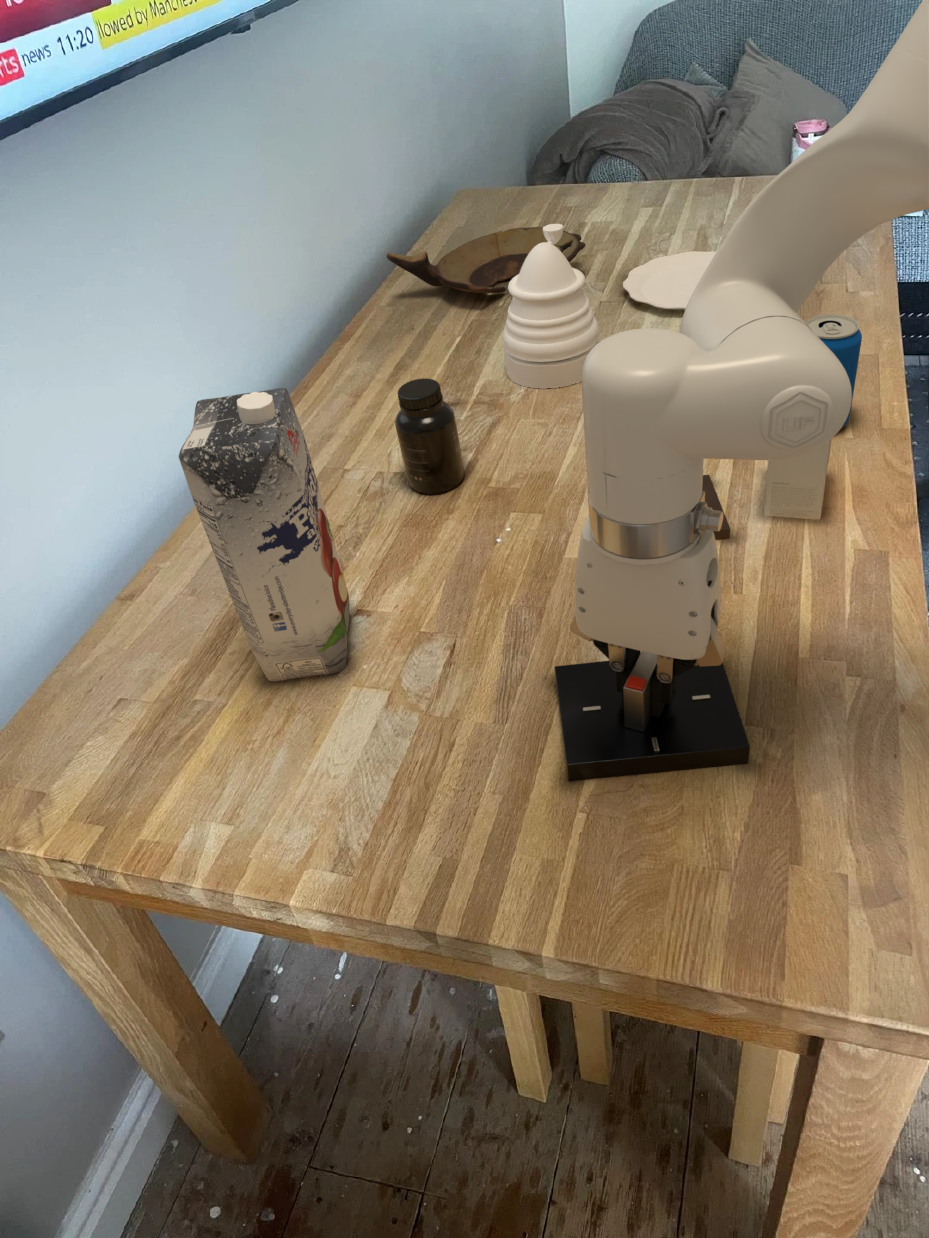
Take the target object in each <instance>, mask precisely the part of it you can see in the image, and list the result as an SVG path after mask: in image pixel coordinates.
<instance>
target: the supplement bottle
mask: <svg viewBox="0 0 929 1238" xmlns="http://www.w3.org/2000/svg"><path fill="white" fill-rule="evenodd" d="M397 398H398V405H399V409H400V410H399V411H398V412H397V414H396V415H395V420H394V425H395V430H396V435H397V439H398V443H399V447H400V452H401V457H402V461H403V466H404V470H405V475H406V479H407V482H408V484H409V486H410V487H411V488H412V489H413V490H414V491H415V492H418V493H421V494H425V495H436V494H442V493H445V492H448V491H450V490H452V489H454V488H456V487H457V486H458V485H459V484H460V483H461V482H462V480H463V478H464V476H465V466H464V460H463V453H462V448H461V443H460V437H459V432H458V426H457V421H456V420H457V419H456V416H455V415H456V414H455V411H454V409H453V407H452V406H451V405H450V404H449V403H447V402H446V401H445V400H444V396H443V393H442V389H441V384H440V383H439V381H437V380H435V379H433V378H427V377H426V378H423V377H422V378H417V379H413V380H410V381H407V382H405V383H403V384H402V385H401V386H400V387H399V388H398V390H397Z"/></svg>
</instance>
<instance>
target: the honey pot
mask: <svg viewBox="0 0 929 1238" xmlns="http://www.w3.org/2000/svg"><path fill="white" fill-rule="evenodd" d="M563 231H564V225H563V224H562V223H550V224H546V225H545V226H543V233H544V236H545V238H546V240H547V241H548V242H543V243H540V244H538V245H536V246H535V247H534V248H533V249H532V250H531V251H530V253H529V254H528V256H527V257H526V259H525V261H524V263H523V265H522V268H521V270H520V273H519V274H518V275H516V276H515V277H513V278H511V279H510V280H509V282H508V285H507V290H508V293H509V294H510V295H511V296H512V297H511V301H510V304H509V306H508V308H507V316H506V321H505V327H504V328H503V331H502V341H503V356H504V363H505V372H506V375H507V377H508V378H509V379H510V380H511V381H512V383H515V384H517V385H519V386H521V387H525V388H529V387H530V389H538V388H539V390H548V389H547V388H551V389H559V387H560V388H564V387H570V386H573V385H576V384H579V383H582V368H583V365H584V362H585V359H586V357H587V355H588V354H589V352H590V351H591V349H592V348H593V347H594V346H595V345H596V344H598V343H599V342H600V336H599V335H600V333H599V322H598V320H597V319H596V317H595V316H594V311H593V309H592V308H591V306H590V302H591V301H590V300H589V298H588V296H587V295H586V294H585V291H584V289H583V287H584V286H585V284H586V276H585V275H584V273H583V272H582V271H581V270H579V269H578V268H575V267H572V265H571V264H570V262H568V260H567V259H566V257H565V256H564V255H563V253H564V252H563V253H562V252H561V251H560V250H559V249H558V248H557V247H555V246H554V244H556V243H557V242H558V241H559V240H560V239H561V237H562V234H563ZM575 383H576V384H575ZM572 384H573V385H572Z"/></svg>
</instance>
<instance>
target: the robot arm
mask: <svg viewBox="0 0 929 1238" xmlns="http://www.w3.org/2000/svg"><path fill="white" fill-rule="evenodd" d="M926 210H929V0H921V3H920V4H919V6H918V7H917V8H916V10H915V12H914V14H912V16H911V18H910V20H909V21H908V23H907V24H906V26H905V27H904V29H903V30H902V32H901V34H900V36H899V37H898V39H897V40H896V42H895V43H894V45H893V46H892V48H891V49H890V50H889V52H888V54H887V55H886V57H885V59H884V60H883V62H882V63H881V65H880V67H879V68H878V70H877V72H876V73H875V74H874V76H873V78H872V79H871V81H870V83H869V84H868V86H867V87H866V88H865V90H864V91H863V92H862V94H861V96H860V97H859V99H858V100H857V102H856V103H855V104H854V105H853V107H852V108H851V109H850V111H849V112H848V113H847V114H846V115H845V116H844V118H843V119H841V120H840V121H839V122H837V124H836V125H834V126H832V128H830V129H829V130H827V132H825V133H824V134H822V135H821V136H820V137H819V138H818V139H817V140H815V141H814V142H813V143H812V144H811V145H809V146H808V147H807V148H806V149H805V150H804V151H802V152H801V154H799V155H797V157H796V158H795V159H794V160H792V162H791V163H790V164H788V165H787V167H785V168H784V169H783V170H782V171H781V172H779V173H778V174H777V175H776V176H775V177H774V178H773V179H772V180H771V181H770V182H768V183H767V184H766V186H764V188H762V190H761V191H760V192H759V193H757V195H755V197H754V198H753V199H752V200H751V201H750V202H749V204H747V206H746V208H745V209H744V210H743V211H742V212H741V214H740V215H739V217H737V219H736V221H735V222H734V223H733V225H732V227H731V228H730V229H729V231H728V232H727V234H726V236H725V237H724V239H723V240H722V242H721V244H720V246H719V247H718V249H717V250H716V251H717V252H716V254H715V256H714V257H713V259H712V261H711V262H710V264H709V266H708V267H707V269H706V271H705V272H704V274H703V276H702V277H701V279H700V281H699V283H698V284H697V286H696V288H695V290H694V292H693V294H692V296H691V298H690V300H689V302H688V304H687V306H686V309H685V311H683V315H682V318H681V320H680V325H679V329H678V331H677V330H676V331H675V330H672V329H668V328H658V327H641V328H633V329H628V330H623V331H620V332H616V333H613V334H611V335H609V336H607V337H606V338H603V339H601V340H599V343H598V344H596V345H595V346H594V347H593V348H592V349H591V351H590V352H589V354H588V355H587V357H586V359H585V362H584V365H583V368H582V381H581V397H582V414H583V432H584V449H585V465H586V484H587V486H586V487H587V503H588V504H587V505H588V515H587V517H586V519H585V521H584V523H583V525H582V527H581V528H582V529H581V534H580V539H579V543H578V544H579V545H578V550H577V557H576V565H575V575H574V579H575V580H574V616H573V619H572V620H571V623H570V625H569V630H570V632H572V633H573V634H574V635H577V636H578V637H580V638H582V639H584V640H586V641H588V642H589V643H590V642H592V643H593V645H594V646H595V648H597V649H598V651H600V652H601V653H602V655H604V656H605V657H606V658H607V659H608V661H609V664H610V667H611V669H613V670H614V671H616V683H617V691H618V692H621V693H622V708H624V694H623V687H624V685H625V683H626V681H627V679H628V677H629V675H630V673H631V671H632V669H633V667H634V665H635V663H636V661H637V659H638V657H639V655H640V653H641V652H642V651H644V652H648V653H653V654H657V668H656V670H655V673H654V675H653V677H652V679H651V681H650V714H652V716H655V717H658V718H659V717H660V714H661V712H662V710H663V708H664V706H665V703H666V704H670V705H671V704H672V702H673V700H674V698H675V694H676V677H677V675H680V674H682V673H684V672H686V671H688V670H690V669H692V668H693V667H694V666H699V667H708V666H720V665H721V664H722V662H723V663H724V659H725V657H726V654H727V653H728V652H727V649H726V646H725V644H724V642H723V641H724V640H723V639H722V637H721V634H720V632H719V630H718V627H719V623H720V620H721V615H722V585H721V572H720V571H721V570H720V569H721V568H720V560H719V553H718V551H719V550H718V545H717V540H715V536H714V532H713V531H720V529H721V526H722V522H723V512H722V511H716V510H713V509H712V508H710V507H707V503H706V502H705V492H704V491H702V483H703V475H704V460H739V461H768V460H778V459H786V458H792V457H796V456H800V455H803V454H806V453H809V452H811V451H813V450H815V449H817V448H819V447H821V446H822V445H824V444H825V443H827V442H828V441H829V440H830V439H831V440H832V439H833V438H834V437H835V436H836V435H837V434H838V433H839V432H840V430H841V429H842V428H843V427H842V426H843V424H844V423H845V421H846V419H847V417H848V414H849V411H850V407H851V408H852V406H851V400H852V401H853V399H852V391H851V384H850V380H849V377H848V375H847V373H846V370H845V369H844V367H843V365H842V364H841V362H840V361H839V360H838V358H837V357H836V356H835V354H834V353H833V352H832V351H831V350H830V349H829V348H828V347H827V346H826V345H825V344H824V343H823V342H822V341H821V340H820V339H819V337H818V336H817V335H816V334H815V333H814V332H813V331H812V330H811V328H810V327H809V326H808V325H807V324H806V323H805V322H806V321H805V320H803V319H802V317H801V316H800V315H799V314H798V312H799V311H800V309H801V308H802V306H803V305H804V303H805V302H806V300H807V299H808V297H809V295H810V294H811V293H812V291H813V290H814V288H815V287H816V285H817V284H818V282H819V281H820V280H821V278H822V277H824V274H826V272H827V271H828V270H829V268H830V267H831V266H832V264H833V263H834V262H836V260H837V259H838V258H839V257H840V256H841V254H843V253H844V252H845V251H846V250H847V249H848V248H849V247H850V246H851V245H853V243H855V242H856V241H857V240H860V238H862V237H863V236H864V235H866V234H867V233H869V232H870V231H872V230H874V229H875V228H877V227H879V226H881V225H883V224H886V223H888V222H890V221H892V220H894V219H898V218H900V217H904V216H906V215H910V214H914V213H918V212H922V211H926ZM841 427H842V428H841Z"/></svg>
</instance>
